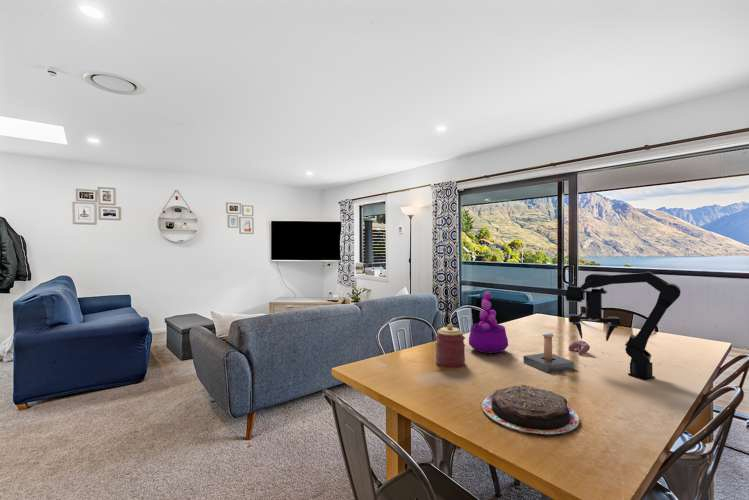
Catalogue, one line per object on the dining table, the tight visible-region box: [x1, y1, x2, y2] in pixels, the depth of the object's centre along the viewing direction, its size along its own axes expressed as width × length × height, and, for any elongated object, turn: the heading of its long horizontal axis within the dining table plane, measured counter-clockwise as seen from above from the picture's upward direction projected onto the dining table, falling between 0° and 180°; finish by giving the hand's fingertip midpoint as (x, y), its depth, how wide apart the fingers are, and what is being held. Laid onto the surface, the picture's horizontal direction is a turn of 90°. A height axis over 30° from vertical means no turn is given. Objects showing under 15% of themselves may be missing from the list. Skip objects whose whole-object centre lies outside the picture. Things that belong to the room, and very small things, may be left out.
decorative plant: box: [468, 290, 509, 354], centre depth 175 cm, size 19×18×30 cm
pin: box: [542, 332, 554, 361], centre depth 153 cm, size 4×4×14 cm
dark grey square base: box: [523, 352, 575, 374], centre depth 153 cm, size 14×14×3 cm
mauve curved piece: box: [568, 339, 591, 356], centre depth 172 cm, size 10×5×7 cm, turn 1°
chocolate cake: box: [481, 384, 580, 437], centre depth 110 cm, size 28×28×7 cm
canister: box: [434, 323, 466, 368], centre depth 158 cm, size 13×13×18 cm
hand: (594, 339), depth 150 cm, fingers open, 9 cm apart
